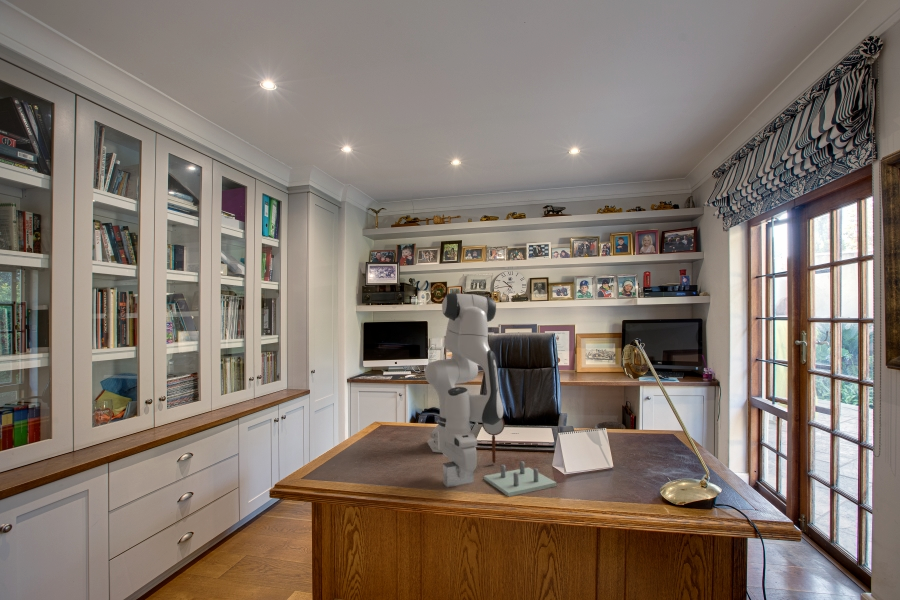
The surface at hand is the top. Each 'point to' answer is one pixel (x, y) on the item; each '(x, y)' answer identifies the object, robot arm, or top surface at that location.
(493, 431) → the magnifying glass
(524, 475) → the pin tray
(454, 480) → the block
